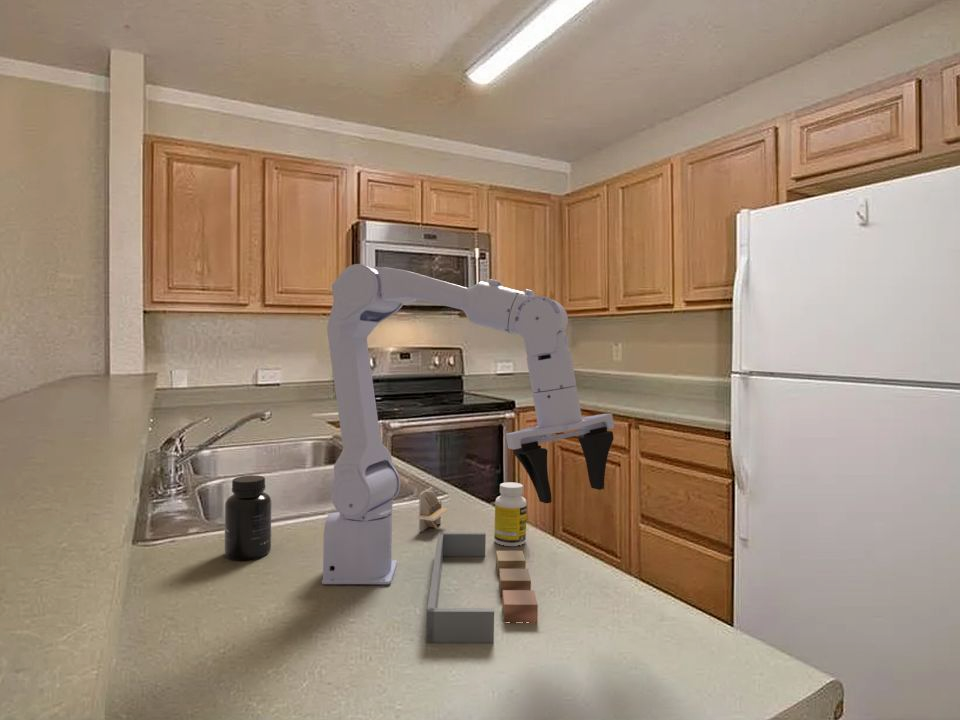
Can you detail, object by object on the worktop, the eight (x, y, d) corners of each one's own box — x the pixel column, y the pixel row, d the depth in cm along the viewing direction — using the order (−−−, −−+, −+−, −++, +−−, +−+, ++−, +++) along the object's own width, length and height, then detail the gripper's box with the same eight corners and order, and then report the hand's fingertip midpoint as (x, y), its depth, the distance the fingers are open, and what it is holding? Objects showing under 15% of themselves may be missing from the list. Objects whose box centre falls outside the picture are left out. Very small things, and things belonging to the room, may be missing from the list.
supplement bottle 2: (524, 548, 92) (524, 489, 92) (491, 546, 94) (492, 487, 93) (527, 537, 98) (528, 482, 98) (497, 535, 99) (498, 480, 99)
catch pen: (426, 642, 62) (426, 611, 62) (438, 554, 89) (438, 532, 89) (493, 642, 63) (494, 611, 63) (485, 554, 90) (485, 532, 90)
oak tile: (497, 577, 81) (498, 560, 81) (495, 567, 85) (496, 550, 85) (525, 577, 81) (525, 560, 81) (522, 567, 85) (522, 550, 85)
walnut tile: (500, 599, 74) (500, 580, 74) (499, 586, 78) (499, 568, 78) (530, 599, 74) (530, 580, 74) (527, 586, 78) (528, 568, 78)
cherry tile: (504, 625, 67) (504, 604, 67) (502, 609, 71) (502, 590, 71) (537, 625, 67) (537, 604, 67) (533, 609, 71) (534, 590, 71)
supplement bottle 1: (214, 557, 87) (214, 480, 86) (247, 543, 93) (248, 471, 93) (248, 564, 84) (248, 485, 84) (280, 550, 90) (281, 475, 90)
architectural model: (448, 528, 104) (449, 488, 104) (433, 539, 98) (434, 497, 98) (431, 526, 105) (432, 486, 105) (416, 537, 99) (416, 495, 99)
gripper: (515, 397, 66) (534, 513, 65) (619, 379, 71) (638, 486, 70) (493, 399, 72) (511, 504, 72) (590, 382, 77) (607, 480, 77)
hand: (572, 495), depth 71 cm, fingers open, 7 cm apart
